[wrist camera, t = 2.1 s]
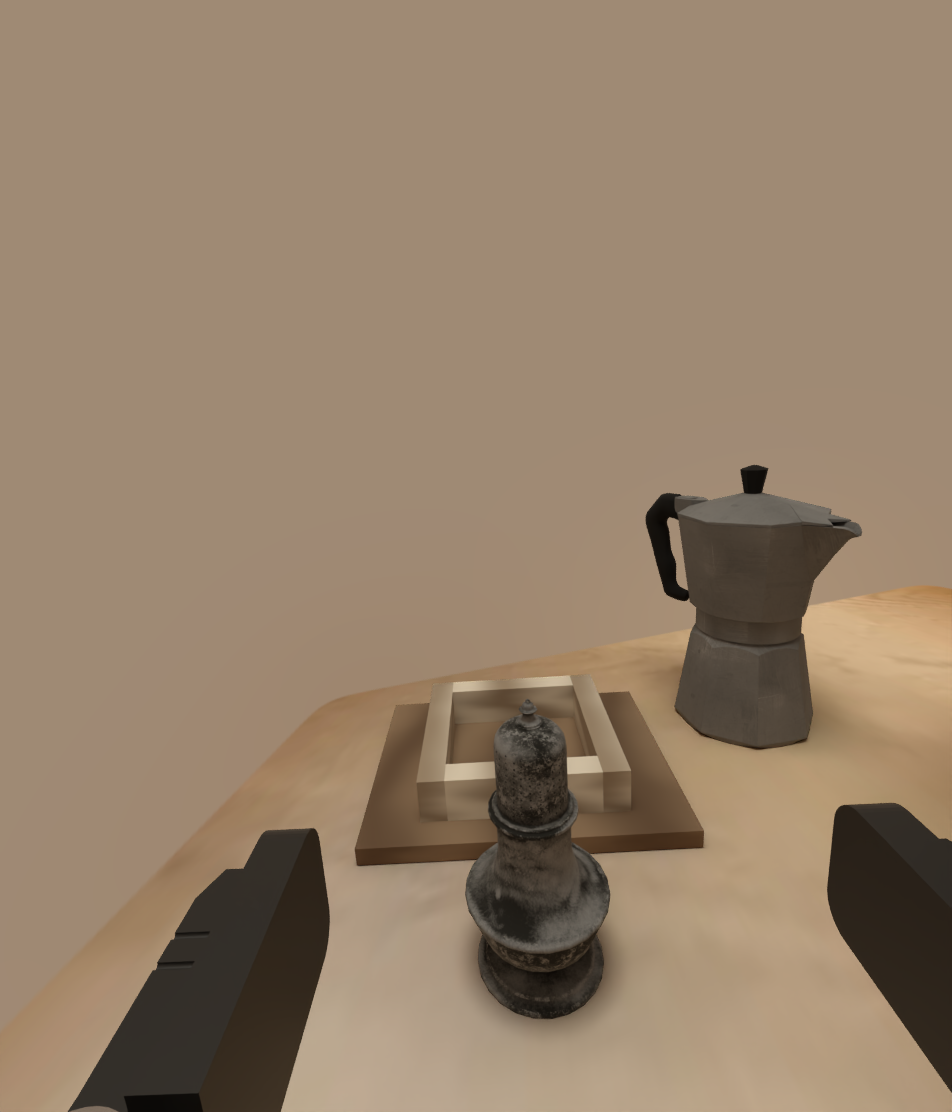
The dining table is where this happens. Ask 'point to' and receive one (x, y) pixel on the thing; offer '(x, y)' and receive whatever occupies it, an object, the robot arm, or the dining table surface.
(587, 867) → the salt shaker
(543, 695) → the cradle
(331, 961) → the dining table surface
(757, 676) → the coffeepot
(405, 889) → the dining table surface
